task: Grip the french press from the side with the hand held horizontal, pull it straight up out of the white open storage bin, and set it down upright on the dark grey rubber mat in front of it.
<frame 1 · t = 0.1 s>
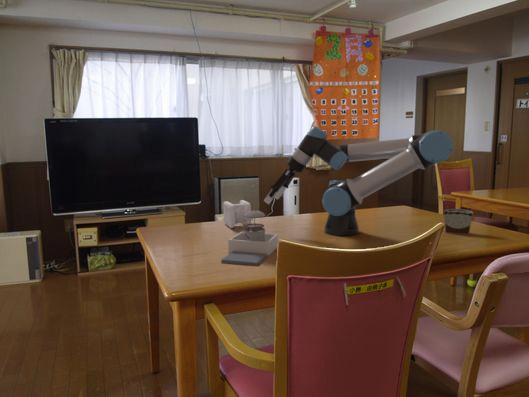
hand: (270, 200, 184), 15 cm above the table, tool tilted 35°, fingers open, 13 cm apart
white open storage bin: (253, 249, 162), on the table
rubber mat: (244, 259, 149), on the table
food container: (457, 232, 188), on the table
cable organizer: (236, 226, 205), on the table
french press: (254, 250, 162), resting in white open storage bin
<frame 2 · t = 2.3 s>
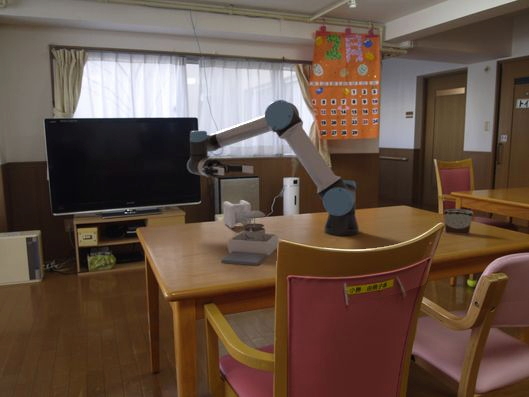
hand: (238, 170, 165), 29 cm above the table, tool horizontal, fingers open, 13 cm apart
nothing on the table moved.
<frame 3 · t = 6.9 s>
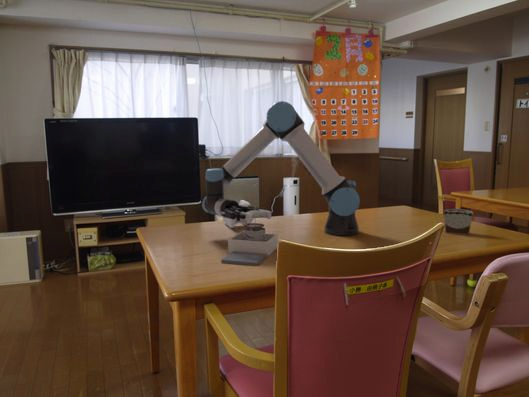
hand: (261, 216, 156), 14 cm above the table, tool horizontal, fingers closed on french press, 8 cm apart
french press: (253, 250, 162), resting in white open storage bin, touching gripper
everything else where it was.
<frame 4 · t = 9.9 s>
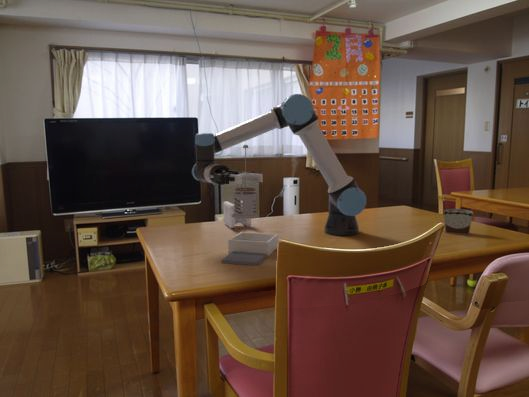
hand: (251, 179, 145), 28 cm above the table, tool horizontal, fingers closed on french press, 8 cm apart
french press: (244, 216, 151), point 15 cm above the table, touching gripper
everything else where it was.
when the fingers open (16 cm above the table, at t = 13.0 s): french press drops 2 cm, resting on rubber mat.
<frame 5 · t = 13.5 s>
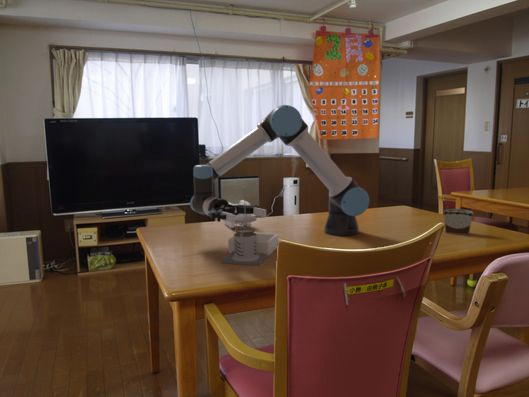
hand: (249, 215, 144), 16 cm above the table, tool horizontal, fingers open, 13 cm apart
french press: (244, 257, 149), point 1 cm above the table, touching rubber mat
everything else where it was.
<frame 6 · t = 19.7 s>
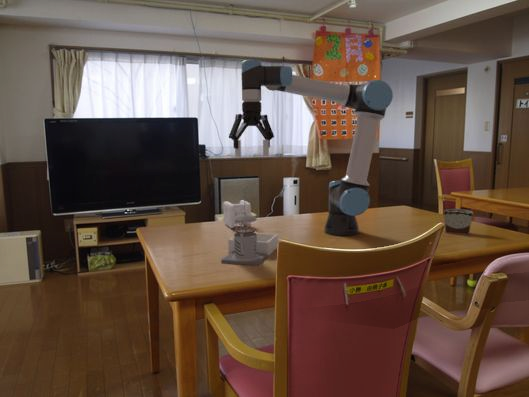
hand: (252, 156, 168), 35 cm above the table, tool pointing down, fingers open, 13 cm apart
nothing on the table moved.
at the end: french press inside the target area on the rubber mat (0.0 cm from its centre), point 0.8 cm above the rubber mat's base; french press tilted 0°; the gripper is holding nothing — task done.
